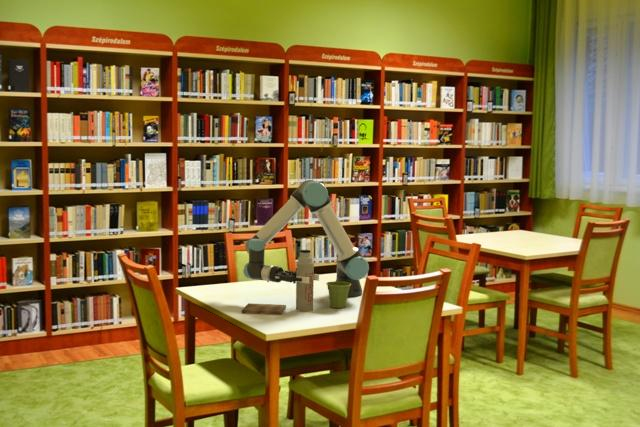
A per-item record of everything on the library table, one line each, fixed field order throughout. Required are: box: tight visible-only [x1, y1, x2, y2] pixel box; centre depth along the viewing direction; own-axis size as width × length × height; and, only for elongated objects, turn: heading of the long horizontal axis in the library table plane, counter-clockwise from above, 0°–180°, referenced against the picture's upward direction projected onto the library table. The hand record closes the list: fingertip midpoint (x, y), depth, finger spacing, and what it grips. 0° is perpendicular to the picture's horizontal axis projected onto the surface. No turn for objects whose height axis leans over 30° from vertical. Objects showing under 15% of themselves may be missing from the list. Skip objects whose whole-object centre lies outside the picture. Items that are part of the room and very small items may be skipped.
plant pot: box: [326, 280, 351, 309], centre depth 356 cm, size 12×12×11 cm
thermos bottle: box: [295, 249, 315, 313], centre depth 348 cm, size 8×8×28 cm
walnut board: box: [241, 302, 287, 316], centre depth 347 cm, size 18×14×2 cm
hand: (313, 279), depth 346 cm, fingers closed on thermos bottle, 8 cm apart
